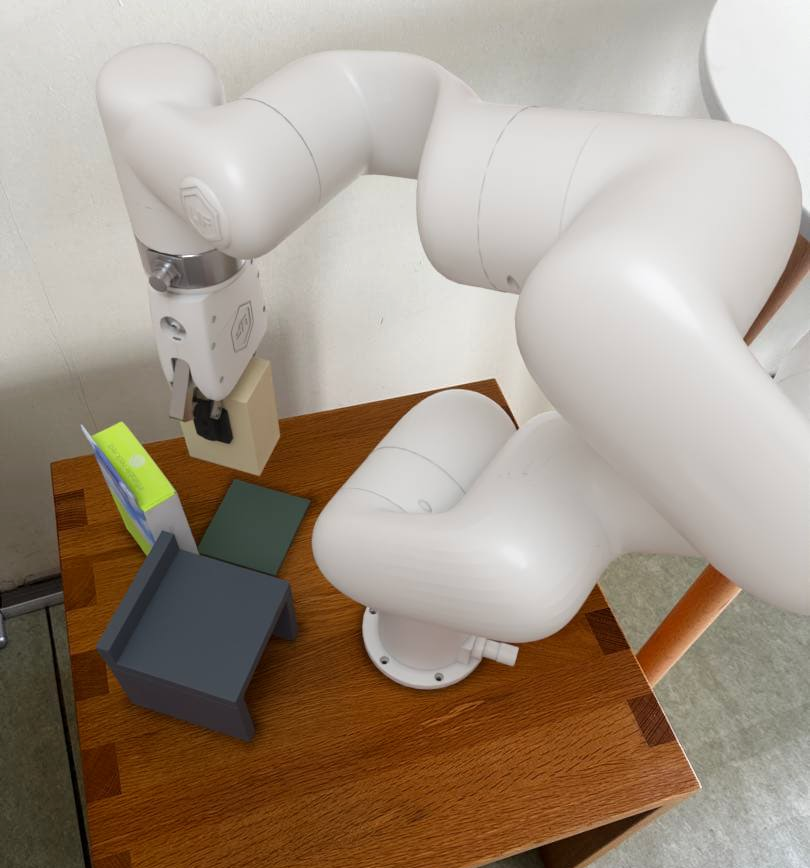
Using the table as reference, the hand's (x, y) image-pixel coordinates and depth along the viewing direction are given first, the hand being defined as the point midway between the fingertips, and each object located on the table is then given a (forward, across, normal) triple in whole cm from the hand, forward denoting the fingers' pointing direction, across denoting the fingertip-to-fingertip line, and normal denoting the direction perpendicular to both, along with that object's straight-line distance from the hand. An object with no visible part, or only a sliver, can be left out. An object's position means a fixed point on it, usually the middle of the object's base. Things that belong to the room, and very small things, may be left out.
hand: (228, 412), depth 74 cm
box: (+19, -6, +7) cm, 21 cm away
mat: (+19, 0, 0) cm, 19 cm away
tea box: (+5, 0, 0) cm, 5 cm away
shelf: (+18, -16, -3) cm, 25 cm away
